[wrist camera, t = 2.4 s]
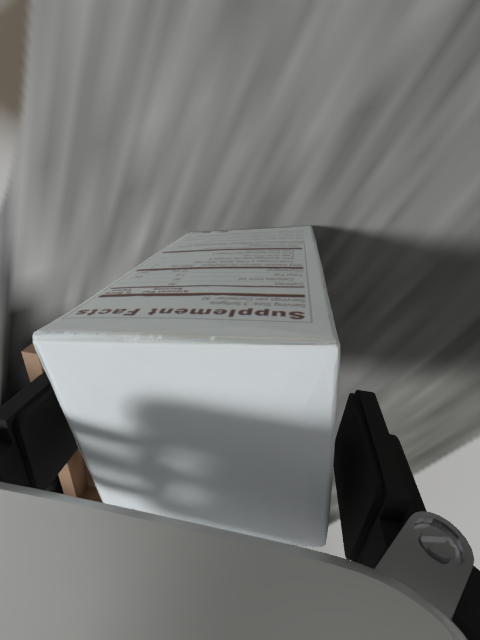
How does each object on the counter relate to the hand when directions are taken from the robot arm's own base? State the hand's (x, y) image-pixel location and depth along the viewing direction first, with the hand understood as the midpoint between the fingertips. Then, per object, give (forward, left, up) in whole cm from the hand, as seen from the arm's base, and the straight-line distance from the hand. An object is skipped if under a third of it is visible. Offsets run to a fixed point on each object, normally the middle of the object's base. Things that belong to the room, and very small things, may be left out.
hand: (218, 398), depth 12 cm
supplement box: (-1, 0, -9) cm, 9 cm away
